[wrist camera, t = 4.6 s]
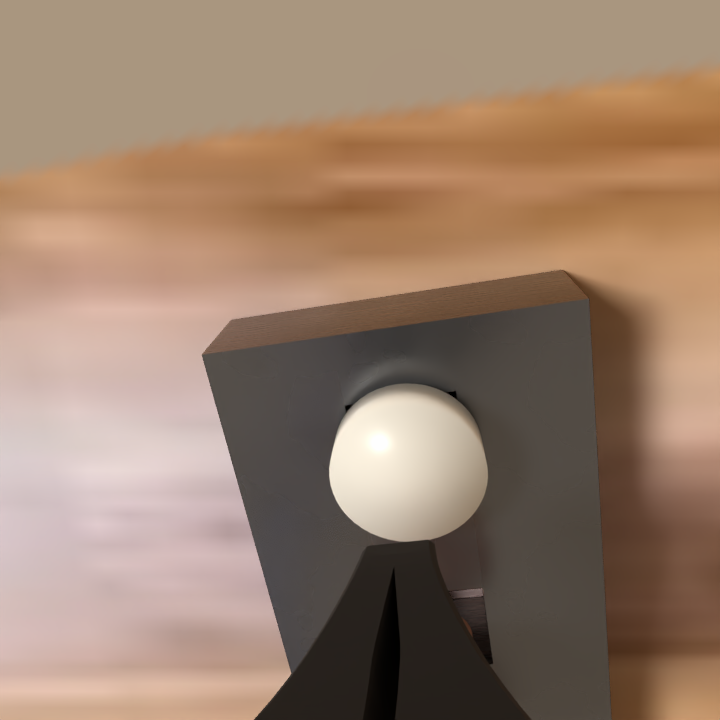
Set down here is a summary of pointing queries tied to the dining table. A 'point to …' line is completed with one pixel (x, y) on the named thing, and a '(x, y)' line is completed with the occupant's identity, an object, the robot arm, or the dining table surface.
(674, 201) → the dining table surface
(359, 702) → the robot arm
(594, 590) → the knob plate
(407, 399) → the knob
